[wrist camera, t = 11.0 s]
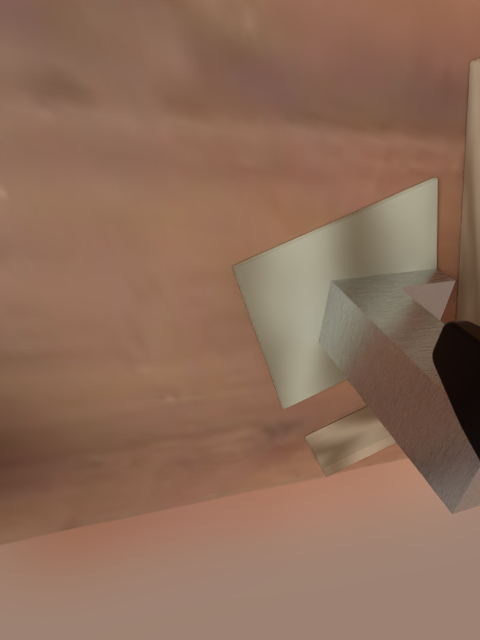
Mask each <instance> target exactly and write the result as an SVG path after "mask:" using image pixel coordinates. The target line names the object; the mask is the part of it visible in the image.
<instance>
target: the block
mask: <svg viewBox="0 0 480 640" xmlns="http://www.w3.org/2000/svg"><path fill="white" fill-rule="evenodd" d="M455 281H456V280H454V279H453V278H451V277H450V276H448V275H447V274H445V273H444V272H442V271H441V270H439V269H438V268H437V269H428V270H419V271H410V272H401V273H392V274H383V275H375V276H366V277H357V278H348V279H339V280H331V282H330V287H329V292H328V297H327V302H326V307H325V312H324V317H323V322H322V327H321V332H320V337H319V344H320V345H321V346H322V347H323V349H324V350H325V351H326V353H327V354H328V355H329V356H330V358H331V359H332V360H333V361H334V363H335V364H336V365H337V367H338V368H339V369H340V370H341V372H342V373H343V374H344V376H345V377H346V378H347V379H348V381H349V382H350V383H351V385H352V386H353V387H354V388H355V390H356V391H357V392H358V394H359V395H360V396H361V397H362V399H363V400H364V401H365V403H366V404H367V405H368V406H369V408H370V409H371V410H372V412H373V413H374V414H375V415H376V417H377V418H378V419H379V421H380V422H381V423H382V424H383V426H384V427H385V428H386V430H387V431H388V432H389V433H390V435H391V436H392V437H393V439H394V440H395V441H396V442H397V444H398V445H399V446H400V447H401V449H402V450H403V451H404V453H405V454H406V455H407V456H408V458H409V459H410V460H411V461H412V463H413V464H414V465H415V467H416V468H417V469H418V471H419V472H420V473H421V474H422V476H423V477H424V478H425V479H426V481H427V482H428V483H429V485H430V486H431V487H432V488H433V490H434V491H435V492H436V494H437V495H438V496H439V498H440V499H441V500H442V501H443V503H444V504H445V505H446V506H447V508H448V509H449V510H450V512H451V513H452V514H454V513H457V512H460V511H463V510H466V509H469V508H472V507H475V506H479V505H480V460H479V459H478V457H477V455H476V453H475V451H474V450H473V448H472V446H471V444H470V442H469V441H468V439H467V437H466V435H465V433H464V431H463V429H462V428H461V426H460V424H459V421H458V419H457V417H456V415H455V413H454V410H453V408H452V406H451V403H450V401H449V399H448V396H447V394H446V392H445V389H444V387H443V385H442V382H441V380H440V378H439V375H438V373H437V371H436V368H435V366H434V363H433V359H432V353H433V349H434V347H435V344H436V342H437V340H438V337H439V335H440V333H441V330H442V328H443V326H444V325H445V324H444V323H443V322H442V321H440V320H441V318H442V315H443V312H444V310H445V307H446V305H447V302H448V299H449V297H450V294H451V292H452V289H453V287H454V284H455Z"/></svg>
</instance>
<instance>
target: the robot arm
mask: <svg viewBox="0 0 480 640" xmlns="http://www.w3.org/2000/svg"><path fill="white" fill-rule="evenodd" d="M432 359H433V363H434V366H435V368H436V371H437V373H438V375H439V378H440V380H441V382H442V385H443V387H444V389H445V392H446V394H447V396H448V399H449V401H450V403H451V406H452V408H453V410H454V413H455V415H456V417H457V419H458V421H459V424H460V426H461V428H462V429H463V431H464V433H465V435H466V437H467V439H468V441H469V442H470V444H471V446H472V448H473V450H474V451H475V453H476V455H477V457H478V459H479V460H480V326H478V325H476V324H474V323H472V322H470V321H466V320H462V321H450V322H447V323H446V324H445V325H444V326H443V328H442V330H441V333H440V335H439V337H438V340H437V342H436V344H435V347H434V349H433V353H432Z"/></svg>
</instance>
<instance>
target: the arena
mask: <svg viewBox="0 0 480 640" xmlns="http://www.w3.org/2000/svg"><path fill="white" fill-rule="evenodd" d="M437 203H438V179H437V178H432V179H429V180H427V181H425V182H422V183H420V184H418V185H416V186H413V187H411V188H409V189H407V190H404V191H402V192H400V193H397V194H395V195H393V196H391V197H388V198H386V199H384V200H382V201H379V202H377V203H375V204H372V205H370V206H368V207H366V208H363V209H361V210H359V211H357V212H354V213H352V214H350V215H347V216H345V217H343V218H341V219H338V220H336V221H334V222H332V223H329V224H327V225H325V226H322V227H320V228H318V229H316V230H313V231H311V232H309V233H307V234H304V235H302V236H300V237H297V238H295V239H293V240H291V241H288V242H286V243H284V244H282V245H279V246H277V247H275V248H272V249H270V250H268V251H266V252H263V253H261V254H259V255H257V256H254V257H252V258H250V259H247V260H245V261H243V262H241V263H238V264H236V265H234V266H232V268H233V271H234V274H235V276H236V279H237V282H238V285H239V288H240V290H241V293H242V296H243V299H244V302H245V304H246V307H247V310H248V313H249V316H250V318H251V321H252V324H253V327H254V330H255V332H256V335H257V338H258V341H259V344H260V346H261V349H262V352H263V355H264V358H265V360H266V363H267V366H268V369H269V372H270V374H271V377H272V380H273V383H274V386H275V388H276V391H277V394H278V397H279V400H280V402H281V405H282V407H283V409H286V408H288V407H290V406H292V405H294V404H296V403H298V402H300V401H303V400H305V399H307V398H309V397H311V396H313V395H315V394H317V393H319V392H322V391H324V390H326V389H328V388H330V387H332V386H334V385H336V384H338V383H341V382H343V381H345V380H347V378H346V377H345V376H344V374H343V373H342V372H341V370H340V369H339V368H338V367H337V365H336V364H335V363H334V361H333V360H332V359H331V358H330V356H329V355H328V354H327V353H326V351H325V350H324V349H323V347H322V346H321V345H320V344H319V337H320V332H321V327H322V322H323V317H324V312H325V307H326V302H327V297H328V292H329V287H330V282H331V280H339V279H348V278H357V277H366V276H375V275H383V274H392V273H401V272H410V271H419V270H428V269H437ZM462 320H466V321H470V322H472V323H474V324H476V325H478V326H480V58H478V59H476V60H473V61H471V62H470V74H469V92H468V110H467V129H466V147H465V166H464V184H463V203H462V221H461V240H460V258H459V277H458V295H457V314H456V321H462ZM305 438H306V441H307V444H308V446H309V448H310V450H311V451H312V453H313V455H314V457H315V459H316V460H317V462H318V464H319V466H320V467H321V469H322V471H323V473H324V474H325V476H326V477H327V476H329V475H331V474H333V473H335V472H337V471H339V470H341V469H343V468H345V467H348V466H350V465H352V464H354V463H356V462H358V461H360V460H362V459H364V458H366V457H368V456H370V455H372V454H374V453H376V452H378V451H380V450H382V449H384V448H386V447H388V446H390V445H392V444H394V443H396V441H395V440H394V439H393V437H392V436H391V435H390V433H389V432H388V431H387V430H386V428H385V427H384V426H383V424H382V423H381V422H380V421H379V419H378V418H377V417H376V415H375V414H374V413H373V412H372V410H371V409H370V408H369V406H367V407H365V408H363V409H361V410H359V411H357V412H355V413H353V414H350V415H348V416H346V417H344V418H342V419H340V420H338V421H336V422H334V423H332V424H330V425H328V426H326V427H323V428H321V429H319V430H317V431H315V432H313V433H311V434H309V435H307V436H305Z"/></svg>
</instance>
